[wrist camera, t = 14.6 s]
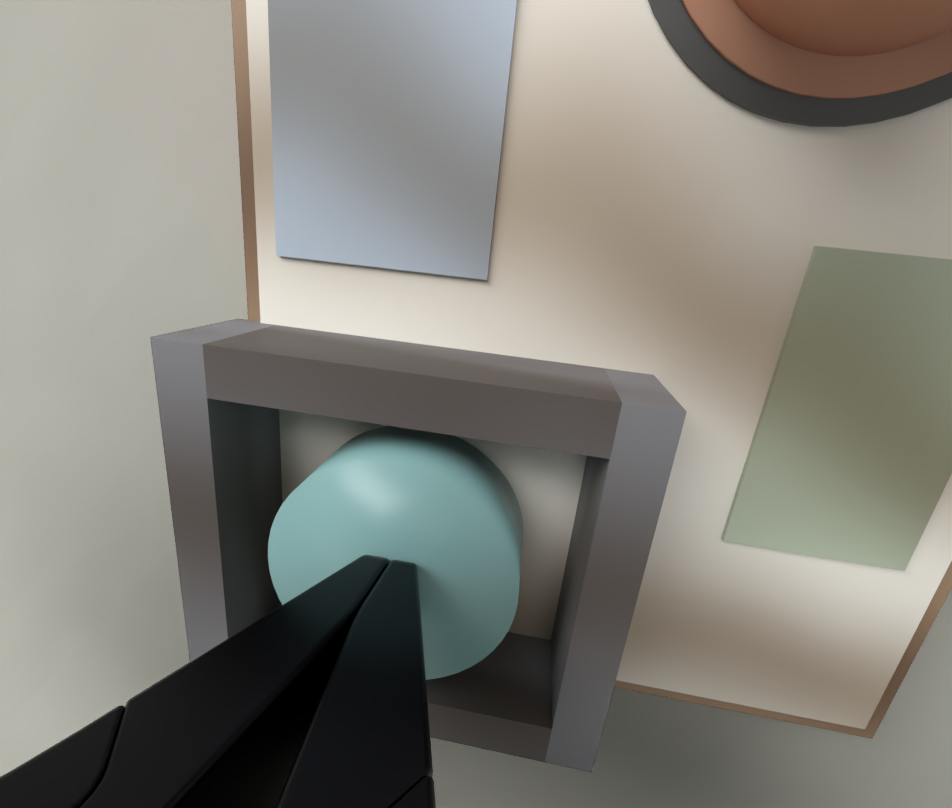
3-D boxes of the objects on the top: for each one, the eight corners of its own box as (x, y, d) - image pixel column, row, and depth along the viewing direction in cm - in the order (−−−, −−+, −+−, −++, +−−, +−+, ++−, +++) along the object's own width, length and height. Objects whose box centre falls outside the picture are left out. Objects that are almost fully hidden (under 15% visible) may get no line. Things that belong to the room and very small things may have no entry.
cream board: (842, 694, 10) (955, 861, 7) (279, 585, 12) (193, 692, 9) (1419, -518, 5) (2649, -1604, 2) (237, -458, 6) (-21, -1060, 3)
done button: (508, 631, 9) (501, 701, 8) (313, 594, 9) (271, 654, 8) (538, 443, 8) (536, 485, 6) (311, 409, 8) (262, 441, 7)
